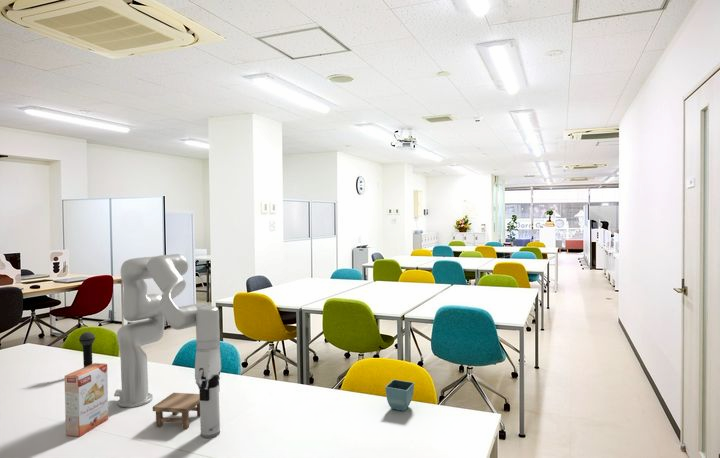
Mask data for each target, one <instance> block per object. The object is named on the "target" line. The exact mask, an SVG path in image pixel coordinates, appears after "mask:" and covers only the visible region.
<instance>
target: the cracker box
mask: <svg viewBox="0 0 720 458" xmlns="http://www.w3.org/2000/svg"><path fill="white" fill-rule="evenodd" d="M108 378H109V377H108V364H107V363H98V362H93V363H92V364H91V365H89V366H87V367H84V366H83V367H82V368H80V369H78V370H75V371H73V372H69V373H68V374H66V375H64V404H65V405H64V407H65V408H64V411H65V412H64V413H65V436H70V437H81V436H83V435H85V434H87V433H88V432H90V431H91V430H93V429H94V428H96V427H97V426H99V425H101V424H103V423H104V422H107V420H109V390H108V389H109V388H108V384H109V381H108V380H109V379H108Z"/></svg>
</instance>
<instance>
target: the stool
mask: <svg viewBox="0 0 720 458" xmlns="http://www.w3.org/2000/svg"><path fill="white" fill-rule="evenodd" d="M152 412H155V428H162V427H163V426H164V423H175V424H182V425H181V426H182V427H181V428H182V430H188V429H189V428H190V415H189V414H190V413H189V412H196V417H200V393H187V392H172V393H171V394H169V395H168V396H166V397H165V398H164V399H162V400H160V401H159V402H157V403H156V404H155V405H153V406H152ZM164 413H171V415H172V416H177V415H178V414H181V417H180V418H179V417H166V416H165V417H164Z"/></svg>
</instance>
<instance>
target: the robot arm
mask: <svg viewBox="0 0 720 458" xmlns="http://www.w3.org/2000/svg"><path fill="white" fill-rule="evenodd" d="M188 269H189V263H188V260H187V259H186V258H185V257H184V256H183V255H182V254H177V253H174V254H163V255H157V256H155V255H154V256H144V257H135V258H129V259H126V260H125V261H123V263H122V264H121V267H120V277H121V278H120V279H121V281H122V287H123V291H122V317H123V318H124V320H125V321H129V322H131V323H127V324H124V325H122V326H121V327H119V328H118V330H117V333H116V341H117V344H118V348H119V355H120V377H121V379H120V380H121V389H116V390H115V392H114V393H113V396H114V397H119V399H118V400H117V405H118V407H122V408H135V407H139V406H143V405H145V404H146V405H147V404H148V403H150V402H151V401H152V400H153V399H154V397H153V394H152V393H150V392H149V379H148V377H149V375H148V356H147V353H146V352H145V351H144V350H143V349H142V348H141V347H142V346H145V345H149V344H153V343H155V342H156V343H157V342H159V341H160V340H162V338H163V337H164V333H165V321H166V322H167V324H168V325H169V326H170V327H171V328H172V329H174V330H177V331H178V330H179V331H180V330H184V329H188V328H192V327H195V340H196V353H195V360H194V361H195V362H194V379H195V384H196V385H197V387H198V390H199V391H200V393H199V394H200V401H209V389H208V384H209V380H210V379H211V378H213V377H214V376H215V375H219V378H218V383H219V384H220V379H221V377H220V374H221V370H222V358H221V350H220V348H221V338H220V337H221V336H220V335H221V334H220V333H221V331H220V310H219V308H218V307H217V306H213V305H211V306H209V305H208V304H206V303H204V302H203V303H202V302H201V303H199V302H198V303H194V304H188V305H182V306H177V305H176V304H175V303H174V301H173V299H175V298H176V297H178V296H179V295H181V293H182V292H183V291H184V290H185V288H186V286H187V282H186V281H185V279H184V277H183V276H184V275H185V274H186V273H187V272H188ZM149 279H150V280H151V279H152V280H153V281H154V282H155V284H156V286H157V287H158V288H159V290H160V291H161V293H162V294H161V295H160V294H158V293H150V294H148V284H147V282H146V281H145V280H149ZM146 319H147V320H146ZM133 321H135V322H133ZM203 377H205V378H206V379H203ZM203 381H206V383H205V384H204V383H203Z"/></svg>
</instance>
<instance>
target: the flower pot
mask: <svg viewBox="0 0 720 458" xmlns="http://www.w3.org/2000/svg"><path fill="white" fill-rule="evenodd" d="M414 389H415V382H413V381H407V380H399V379H392V380H391V381H390V382H389V383H387V385H385V394H386V401H387V403H388V405H389V407H390V408H391V409H392V410H395V409H396V410H397V411H400V410H401V411H402V412H405V411H406V410H407V409H408V407H409V406H410V404H411V402H412V400H413V397H414Z"/></svg>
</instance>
